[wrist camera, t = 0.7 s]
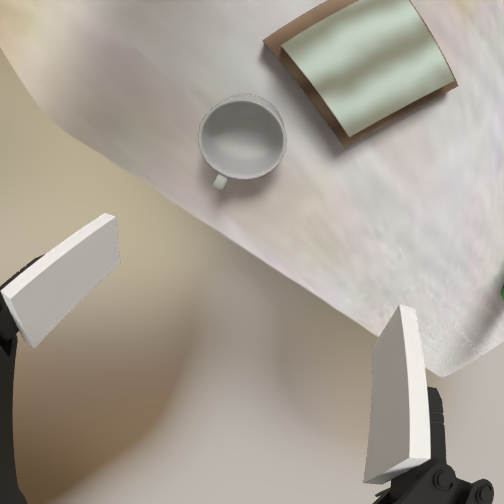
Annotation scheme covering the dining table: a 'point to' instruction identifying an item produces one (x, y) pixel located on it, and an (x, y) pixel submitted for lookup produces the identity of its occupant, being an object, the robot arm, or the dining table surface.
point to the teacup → (242, 138)
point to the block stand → (363, 62)
